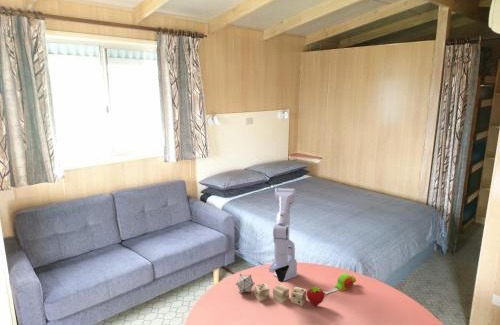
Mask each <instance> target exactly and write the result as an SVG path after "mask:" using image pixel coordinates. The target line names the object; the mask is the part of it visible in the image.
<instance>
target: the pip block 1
mask: <svg viewBox="0 0 500 325" xmlns="http://www.w3.org/2000/svg"><path fill="white" fill-rule="evenodd" d="M254 296H255V297H256V300H257V301H258V302H262V301H267V300H270V288H269V286H268V285H267V284H266V282H263V283H259V284H254Z"/></svg>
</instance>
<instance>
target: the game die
mask: <svg viewBox="0 0 500 325" xmlns="http://www.w3.org/2000/svg"><path fill="white" fill-rule="evenodd" d="M235 285H236V286H237V287H238V290H239V294H240V293H249V294H252V292H251V291H252V288H253V286H254V285H256V282H254V281H253V279H252V274H249V275H244V274H243V275H242V274H241V273H239V279H238V281H236V283H235Z"/></svg>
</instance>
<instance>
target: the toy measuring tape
mask: <svg viewBox="0 0 500 325" xmlns="http://www.w3.org/2000/svg"><path fill="white" fill-rule="evenodd" d="M356 282H357V279H356V277H355V276H353V275H350V274H349V273H346V272H344V273H341V274H340V275H339V276H338V278H337V282H336V284H335V286H334V287H333V288H331V289H329V290H328V291H324V290H322V291H323V292H324V294H325V295H327V294H331V293H334V292H338V291H339V292H343V291H345V290H349V289H351V288H352V287H354V285H355V284H354V283H356Z"/></svg>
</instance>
